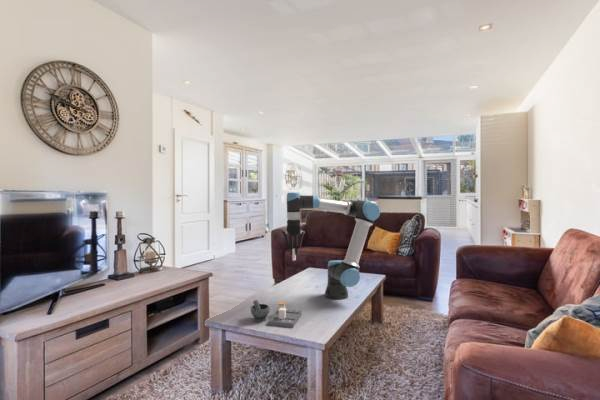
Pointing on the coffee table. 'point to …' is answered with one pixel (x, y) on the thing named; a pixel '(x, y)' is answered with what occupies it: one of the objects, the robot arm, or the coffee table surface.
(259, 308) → the mortar and pestle
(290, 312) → the console
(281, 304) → the fader
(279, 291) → the coffee table surface
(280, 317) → the fader
